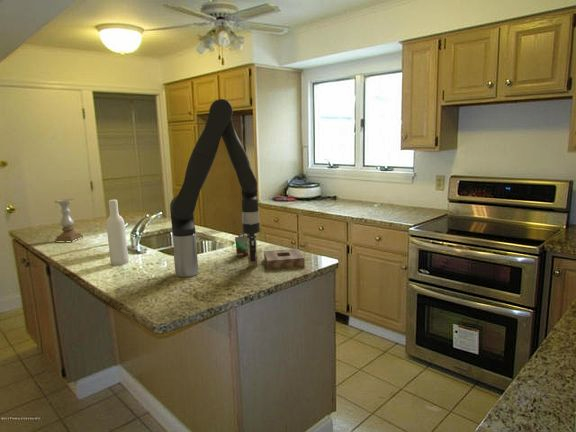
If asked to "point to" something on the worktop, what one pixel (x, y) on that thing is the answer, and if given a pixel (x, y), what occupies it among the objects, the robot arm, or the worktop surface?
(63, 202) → the candle holder
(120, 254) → the bottle
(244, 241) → the food container
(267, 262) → the socket block
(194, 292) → the worktop surface
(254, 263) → the dowel
